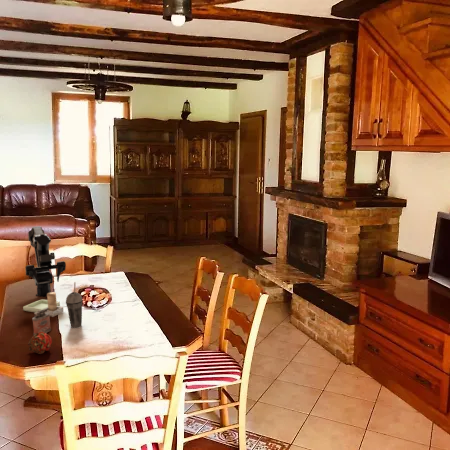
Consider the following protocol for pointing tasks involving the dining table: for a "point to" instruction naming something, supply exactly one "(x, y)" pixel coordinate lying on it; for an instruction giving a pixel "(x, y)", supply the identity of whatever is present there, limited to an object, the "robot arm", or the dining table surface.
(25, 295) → the dining table surface
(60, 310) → the pin socket
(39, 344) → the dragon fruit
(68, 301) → the beverage cup
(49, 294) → the pin
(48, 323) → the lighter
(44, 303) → the tray
